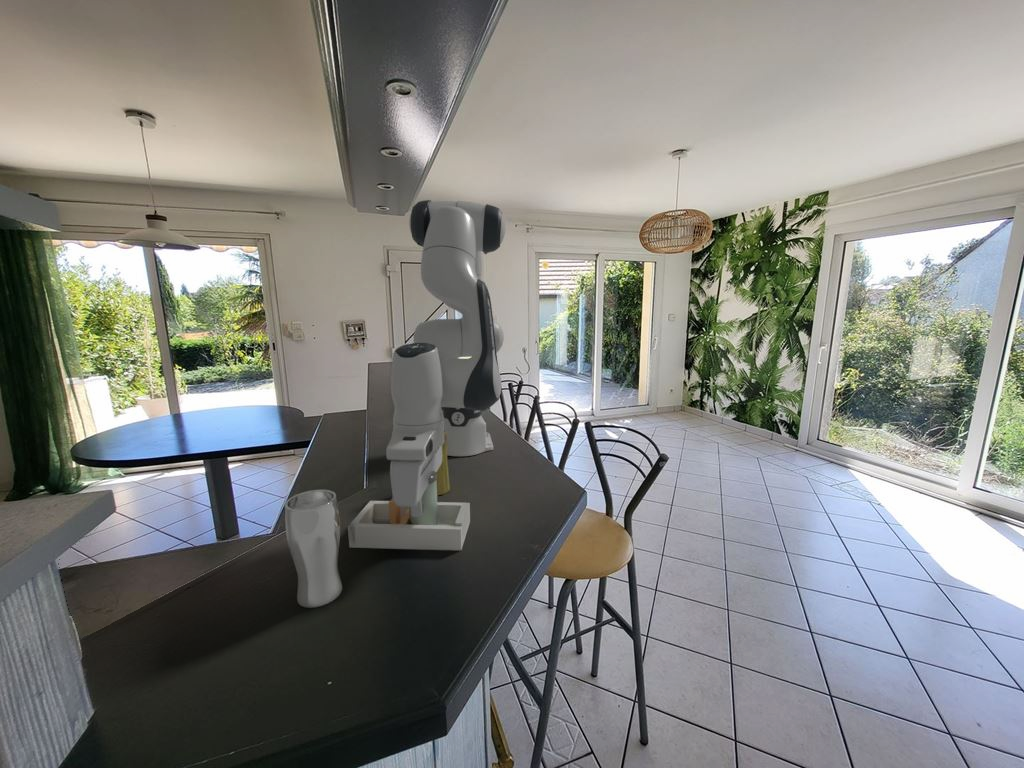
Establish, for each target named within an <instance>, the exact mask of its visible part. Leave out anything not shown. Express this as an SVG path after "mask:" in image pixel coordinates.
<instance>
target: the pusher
mask: <svg viewBox="0 0 1024 768" xmlns="http://www.w3.org/2000/svg"><path fill="white" fill-rule="evenodd" d="M389 501H390V502H389V515H390V519H384V518H374V519H373V524H405V525H410V520H409V509H408V510H407V512H406V513H405V515H404V516H403V518H402V520H401V515H400V506H397V505H396V504H395V502H394V500H393V497H392V498H391V499H390V500H389Z"/></svg>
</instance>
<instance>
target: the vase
mask: <svg viewBox="0 0 1024 768" xmlns="http://www.w3.org/2000/svg"><path fill="white" fill-rule="evenodd" d="M444 440H445V442H444V444H443V445H442V464H441V466H440V467H439V469H438V471H437V472H436V473H437V479H436V482H437V497H438V496H442V495H445V494H447V493H448V492H450V490H451V486H450V476H449V474H450V473H449V465H448V464H449V463H448V455H447V434H446V430H444Z"/></svg>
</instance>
